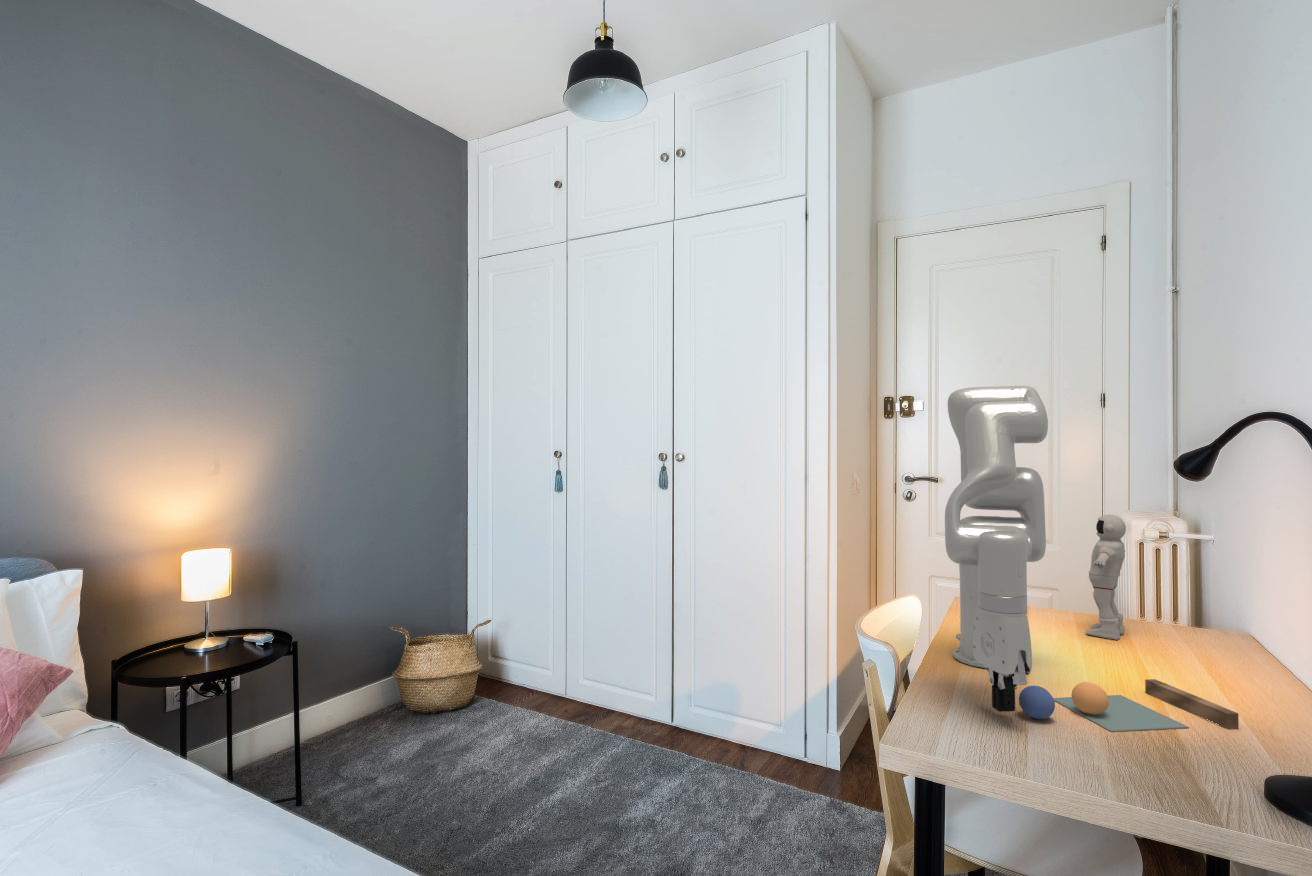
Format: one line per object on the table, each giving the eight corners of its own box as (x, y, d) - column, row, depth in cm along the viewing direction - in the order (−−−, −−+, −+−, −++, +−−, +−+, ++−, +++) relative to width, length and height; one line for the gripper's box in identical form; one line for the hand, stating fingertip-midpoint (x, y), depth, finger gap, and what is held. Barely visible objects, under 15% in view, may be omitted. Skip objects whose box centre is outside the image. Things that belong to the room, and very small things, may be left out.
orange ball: (1068, 674, 116) (1095, 682, 116) (1060, 703, 116) (1087, 711, 116) (1092, 684, 110) (1120, 693, 111) (1084, 715, 110) (1111, 723, 111)
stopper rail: (1145, 692, 123) (1145, 679, 123) (1155, 692, 123) (1154, 679, 123) (1227, 729, 107) (1227, 713, 107) (1238, 728, 107) (1238, 713, 107)
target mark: (1050, 699, 120) (1050, 698, 120) (1120, 696, 121) (1120, 694, 121) (1111, 732, 106) (1111, 730, 106) (1189, 728, 107) (1189, 726, 107)
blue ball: (1038, 677, 114) (1045, 706, 114) (1009, 684, 114) (1016, 713, 114) (1058, 689, 109) (1065, 720, 109) (1027, 697, 109) (1034, 728, 109)
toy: (1099, 620, 174) (1098, 509, 175) (1137, 626, 169) (1135, 511, 169) (1074, 644, 153) (1073, 517, 154) (1116, 651, 148) (1114, 520, 148)
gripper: (957, 594, 119) (958, 694, 119) (1009, 614, 104) (1011, 729, 104) (995, 593, 120) (997, 692, 119) (1053, 613, 105) (1054, 727, 105)
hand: (1003, 709), depth 112 cm, fingers closed
